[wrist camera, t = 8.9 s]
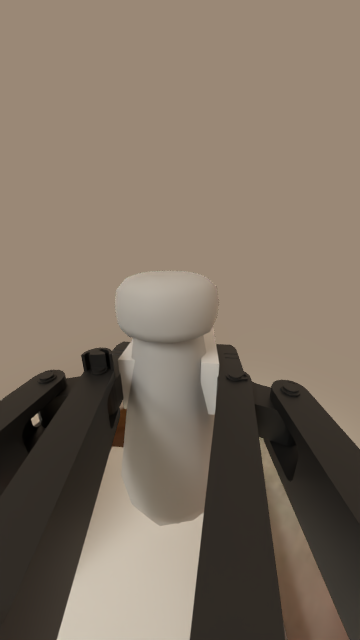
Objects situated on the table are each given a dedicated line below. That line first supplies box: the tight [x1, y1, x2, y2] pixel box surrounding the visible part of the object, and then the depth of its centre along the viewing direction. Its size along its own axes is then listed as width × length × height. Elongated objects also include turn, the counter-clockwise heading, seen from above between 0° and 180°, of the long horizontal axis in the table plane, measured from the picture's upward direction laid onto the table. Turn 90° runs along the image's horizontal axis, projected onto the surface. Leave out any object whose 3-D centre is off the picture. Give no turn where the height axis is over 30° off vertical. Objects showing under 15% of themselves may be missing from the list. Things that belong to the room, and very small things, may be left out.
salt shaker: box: [115, 271, 219, 526], centre depth 11 cm, size 6×6×13 cm
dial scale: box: [1, 399, 287, 640], centre depth 15 cm, size 23×15×11 cm, turn 85°
